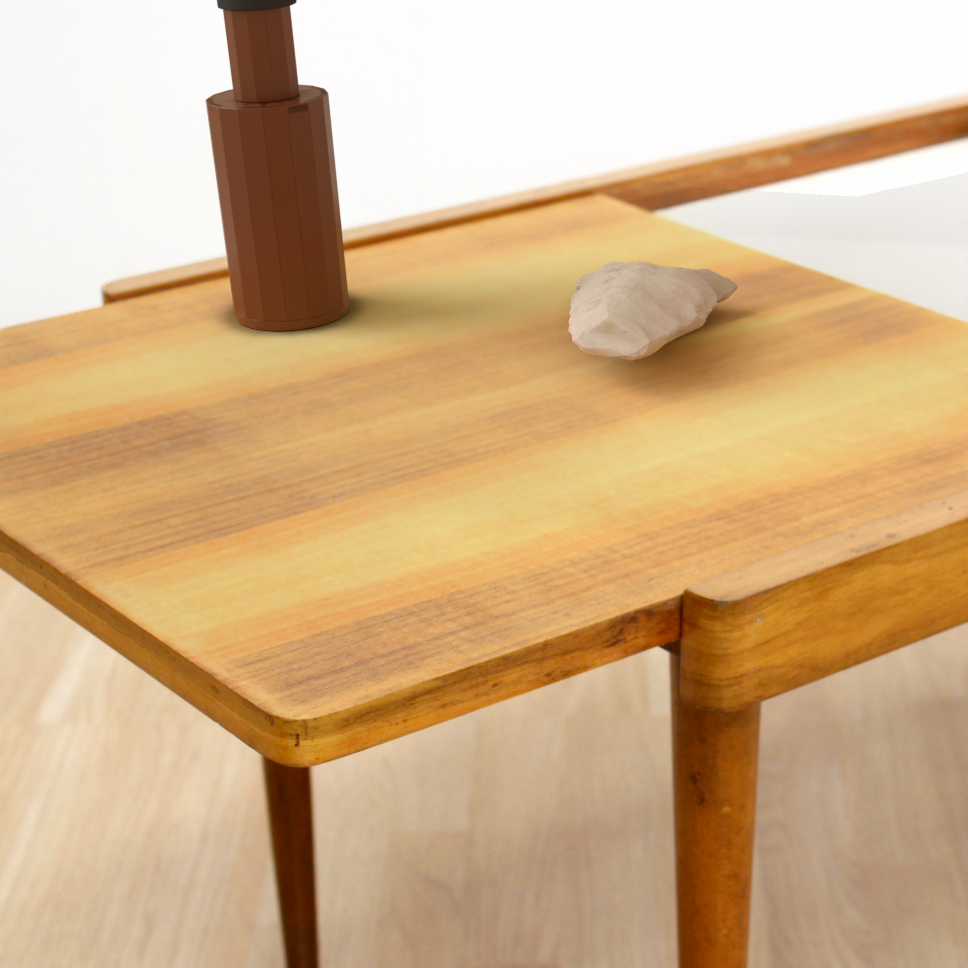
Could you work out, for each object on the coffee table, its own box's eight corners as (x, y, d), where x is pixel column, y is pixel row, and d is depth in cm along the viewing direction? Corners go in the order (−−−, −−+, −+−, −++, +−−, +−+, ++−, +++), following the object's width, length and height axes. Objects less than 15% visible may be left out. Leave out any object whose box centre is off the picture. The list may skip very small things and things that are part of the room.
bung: (245, 51, 85) (235, -36, 83) (208, 42, 88) (197, -41, 86) (315, 40, 87) (306, -44, 85) (276, 32, 91) (267, -50, 89)
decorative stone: (742, 239, 91) (694, 323, 78) (739, 309, 93) (692, 402, 80) (581, 228, 93) (509, 308, 80) (581, 297, 95) (511, 386, 82)
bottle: (270, 339, 91) (230, 19, 83) (215, 311, 96) (172, 7, 87) (370, 312, 94) (341, 3, 86) (312, 287, 99) (279, -8, 91)
